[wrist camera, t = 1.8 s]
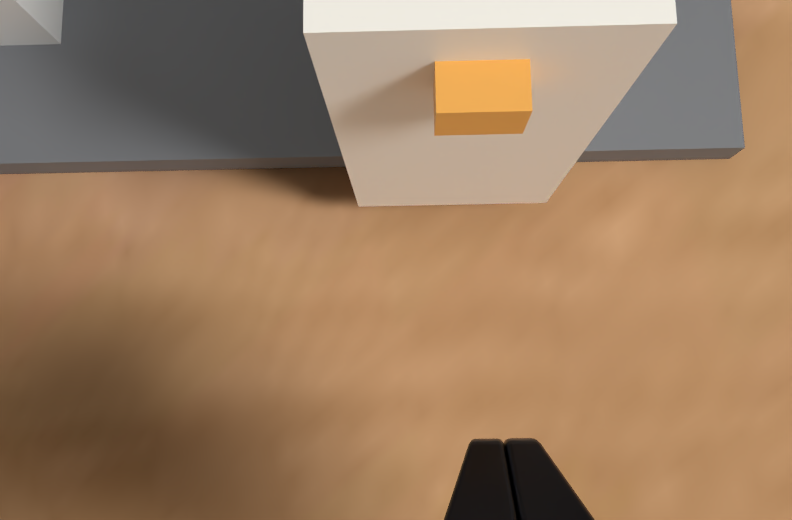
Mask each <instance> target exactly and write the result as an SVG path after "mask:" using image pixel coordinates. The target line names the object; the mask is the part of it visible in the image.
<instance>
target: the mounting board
mask: <svg viewBox="0 0 792 520" xmlns="http://www.w3.org/2000/svg"><path fill="white" fill-rule="evenodd" d="M675 3H676V15H677V25H676V26H675V27H674V29H673V30H672V31H671V33H670V34H669V35H668V37H667V38H666V40H665V41H664V42H663V44H662V45H661V46H660V48H659V49H658V50H657V52H656V53H655V55H654V56H653V57H652V59H651V60H650V61H649V63H648V64H647V66H646V67H645V68H644V70H643V71H642V72H641V74H640V75H639V76H638V78H637V79H636V81H635V82H634V83H633V85H632V86H631V87H630V89H629V90H628V92H627V93H626V94H625V96H624V97H623V98H622V100H621V101H620V102H619V104H618V105H617V107H616V108H615V109H614V111H613V112H612V113H611V115H610V116H609V117H608V119H607V120H606V122H605V123H604V124H603V126H602V127H601V128H600V130H599V131H598V133H597V134H596V135H595V137H594V138H593V139H592V141H591V142H590V143H589V145H588V146H587V148H586V149H585V150H584V152H583V153H582V154H581V156H580V157H579V159H578V160H577V161H576V162H592V161H639V160H686V159H729V158H731V157H732V156H734V155H735V154H736V153H738V152H739V151H741V150H742V149H743V148H745V145H744V135H743V124H742V114H741V103H740V93H739V82H738V72H737V61H736V51H735V40H734V30H733V19H732V8H731V0H675ZM309 167H346V166H345V162H344V159H343V156H342V153H341V150H340V147H339V144H338V141H337V137H336V134H335V131H334V128H333V125H332V122H331V119H330V115H329V112H328V109H327V106H326V103H325V100H324V97H323V94H322V90H321V87H320V84H319V81H318V78H317V75H316V72H315V68H314V65H313V62H312V59H311V56H310V53H309V50H308V47H307V43H306V40H305V37H304V34H303V0H63V16H62V32H61V44H46V45H6V46H0V174H27V173H74V172H121V171H168V170H215V169H262V168H309Z"/></svg>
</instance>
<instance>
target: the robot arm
mask: <svg viewBox="0 0 792 520" xmlns="http://www.w3.org/2000/svg"><path fill="white" fill-rule="evenodd" d="M444 520H594V518H593V517H592V515H591V514H590V513H589V511H588V510H587V508H586V507H585V506H584V504H583V503H582V501H581V500H580V499H579V497H578V496H577V494H576V493H575V492H574V490H573V489H572V487H571V486H570V484H569V483H568V482H567V480H566V479H565V477H564V476H563V475H562V473H561V472H560V470H559V469H558V468H557V466H556V465H555V463H554V462H553V461H552V459H551V458H550V456H549V455H548V453H547V452H546V451H545V449H544V448H543V446H542V445H541V444H540V443H539V442H538V441H537V440H535V439H532V438H512V439H507V440H505V442H504V444H503V442H502V441H501V440H500V439H473V440H472V441H471V442H470V443H469V446H468V449H467V452H466V455H465V458H464V461H463V464H462V467H461V470H460V473H459V476H458V479H457V482H456V485H455V488H454V491H453V494H452V497H451V500H450V503H449V506H448V509H447V512H446V515H445V518H444Z"/></svg>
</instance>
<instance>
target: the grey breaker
mask: <svg viewBox="0 0 792 520" xmlns="http://www.w3.org/2000/svg"><path fill="white" fill-rule="evenodd" d="M62 16H63V0H0V46H6V45H46V44H61V32H62Z"/></svg>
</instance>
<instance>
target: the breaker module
mask: <svg viewBox="0 0 792 520" xmlns="http://www.w3.org/2000/svg"><path fill="white" fill-rule="evenodd" d="M676 25H677V15H676V3H675V0H303V34H304V37H305V40H306V43H307V47H308V50H309V53H310V56H311V59H312V62H313V65H314V68H315V72H316V75H317V78H318V81H319V84H320V87H321V90H322V94H323V97H324V100H325V103H326V106H327V109H328V112H329V115H330V119H331V122H332V125H333V128H334V131H335V134H336V137H337V141H338V144H339V147H340V150H341V153H342V156H343V159H344V162H345V166H346V169H347V172H348V175H349V178H350V181H351V184H352V187H353V191H354V194H355V197H356V200H357V203H358V206H359V207H362V206H411V205H461V204H511V203H546V202H547V201H548V200H549V198H550V197H551V195H552V194H553V193H554V191H555V190H556V189H557V187H558V186H559V185H560V183H561V182H562V180H563V179H564V178H565V176H566V175H567V174H568V172H569V171H570V169H571V168H572V167H573V165H574V164H575V163H576V161H577V160H578V159H579V157H580V156H581V154H582V153H583V152H584V150H585V149H586V148H587V146H588V145H589V143H590V142H591V141H592V139H593V138H594V137H595V135H596V134H597V133H598V131H599V130H600V128H601V127H602V126H603V124H604V123H605V122H606V120H607V119H608V117H609V116H610V115H611V113H612V112H613V111H614V109H615V108H616V107H617V105H618V104H619V102H620V101H621V100H622V98H623V97H624V96H625V94H626V93H627V92H628V90H629V89H630V87H631V86H632V85H633V83H634V82H635V81H636V79H637V78H638V76H639V75H640V74H641V72H642V71H643V70H644V68H645V67H646V66H647V64H648V63H649V61H650V60H651V59H652V57H653V56H654V55H655V53H656V52H657V50H658V49H659V48H660V46H661V45H662V44H663V42H664V41H665V40H666V38H667V37H668V35H669V34H670V33H671V31H672V30H673V29H674V27H675V26H676Z"/></svg>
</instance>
